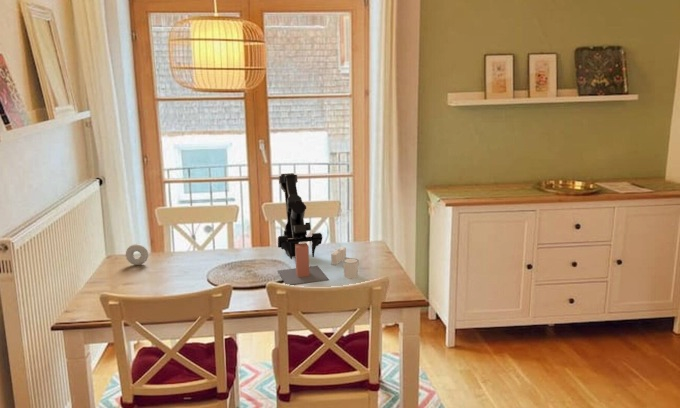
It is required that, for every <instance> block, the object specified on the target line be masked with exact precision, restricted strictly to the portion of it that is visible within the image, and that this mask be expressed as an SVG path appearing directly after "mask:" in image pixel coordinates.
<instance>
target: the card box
mask: <svg viewBox="0 0 680 408" xmlns="http://www.w3.org/2000/svg"><path fill="white" fill-rule="evenodd" d="M294 259H295V268H296V274H297V277H306V276H309V266H310V255H309V245H308V243H307V242H302V243H299V244H295V258H294Z"/></svg>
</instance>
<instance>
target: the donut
mask: <svg viewBox="0 0 680 408" xmlns="http://www.w3.org/2000/svg"><path fill="white" fill-rule="evenodd" d="M135 252H138V253H139V254H140V256H139V257H136V256H134V253H135ZM125 257H126V260H127V261H128V263H130V264H131V265H133V266H142V265H143V264H145V263H146V262H147V261H148V259H149V252H148V249H147V248H146V247H145V246H144V245H143V244H140V243H134V244H131V245H129V247H127V248H126V251H125Z"/></svg>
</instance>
